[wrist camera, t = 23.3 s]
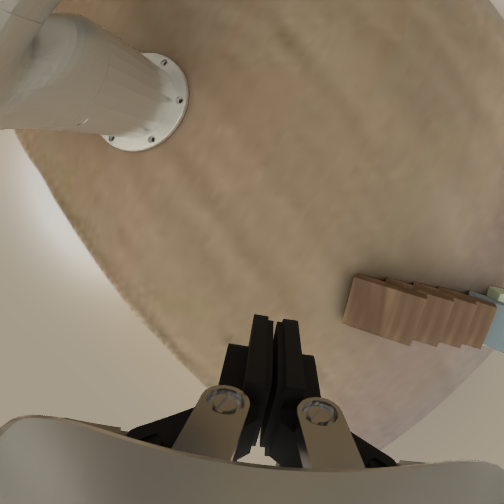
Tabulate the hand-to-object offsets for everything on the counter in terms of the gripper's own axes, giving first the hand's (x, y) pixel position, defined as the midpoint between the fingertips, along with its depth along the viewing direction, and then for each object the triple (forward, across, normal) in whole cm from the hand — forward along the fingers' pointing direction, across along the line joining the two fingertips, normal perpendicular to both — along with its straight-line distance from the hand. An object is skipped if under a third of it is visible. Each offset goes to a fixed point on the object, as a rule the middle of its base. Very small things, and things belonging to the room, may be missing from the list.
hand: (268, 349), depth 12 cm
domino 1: (+24, -11, +7) cm, 27 cm away
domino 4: (+23, -22, +7) cm, 33 cm away
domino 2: (+24, -15, +7) cm, 29 cm away
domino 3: (+23, -19, +7) cm, 31 cm away
